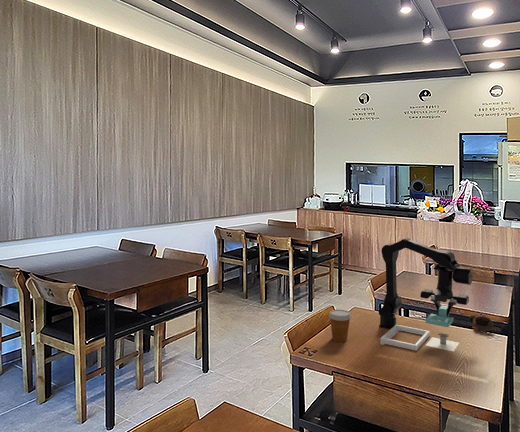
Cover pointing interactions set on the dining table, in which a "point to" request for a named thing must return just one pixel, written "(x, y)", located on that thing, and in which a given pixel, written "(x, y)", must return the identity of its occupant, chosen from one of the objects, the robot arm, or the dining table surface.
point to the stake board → (446, 347)
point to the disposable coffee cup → (339, 324)
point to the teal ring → (440, 317)
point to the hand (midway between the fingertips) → (443, 315)
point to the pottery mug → (481, 323)
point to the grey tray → (387, 340)
